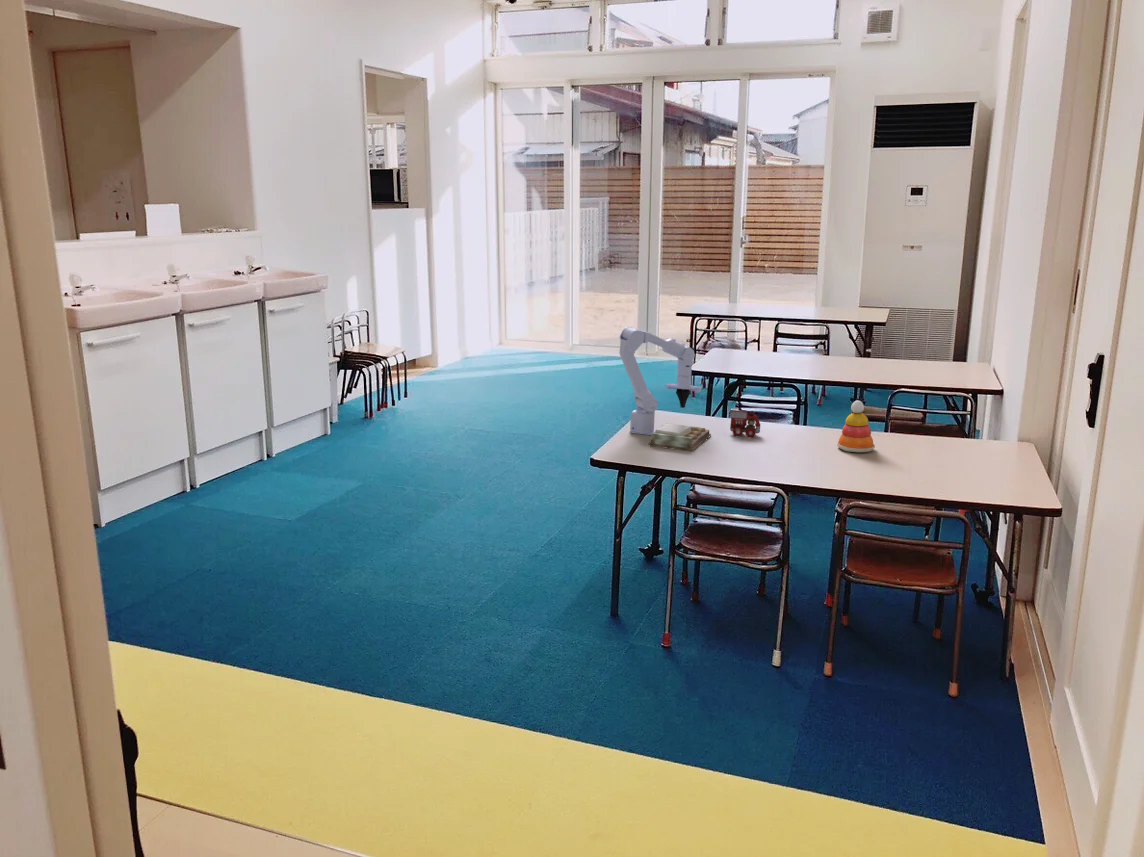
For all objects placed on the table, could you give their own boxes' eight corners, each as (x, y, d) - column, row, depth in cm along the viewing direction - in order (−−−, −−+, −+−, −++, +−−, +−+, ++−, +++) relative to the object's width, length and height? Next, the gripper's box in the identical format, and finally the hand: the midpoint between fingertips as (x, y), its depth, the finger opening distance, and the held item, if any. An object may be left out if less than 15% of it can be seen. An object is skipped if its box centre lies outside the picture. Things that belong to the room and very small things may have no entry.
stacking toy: (870, 445, 354) (874, 397, 349) (878, 455, 341) (883, 405, 336) (833, 443, 356) (837, 395, 351) (840, 453, 342) (844, 404, 337)
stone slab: (655, 435, 350) (655, 429, 349) (667, 428, 360) (667, 423, 360) (679, 439, 345) (679, 433, 345) (690, 432, 356) (690, 426, 355)
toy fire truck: (759, 438, 362) (761, 413, 359) (728, 436, 364) (730, 411, 361) (759, 434, 369) (761, 409, 366) (729, 432, 371) (730, 408, 368)
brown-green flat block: (648, 445, 349) (648, 433, 348) (668, 430, 372) (669, 419, 370) (692, 451, 342) (693, 438, 341) (710, 436, 364) (711, 424, 363)
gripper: (704, 375, 370) (702, 407, 373) (670, 371, 375) (669, 403, 379) (699, 378, 363) (697, 410, 367) (665, 374, 369) (663, 406, 373)
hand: (682, 407), depth 372 cm, fingers closed
